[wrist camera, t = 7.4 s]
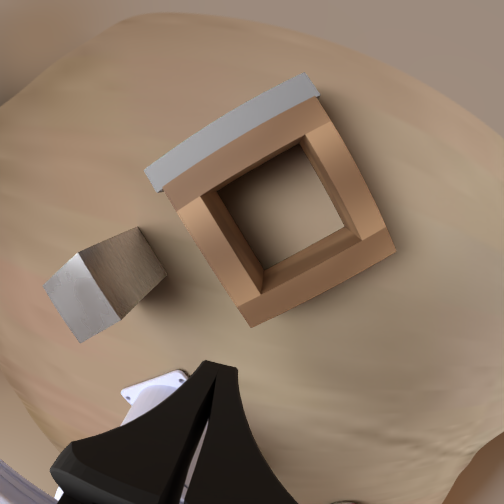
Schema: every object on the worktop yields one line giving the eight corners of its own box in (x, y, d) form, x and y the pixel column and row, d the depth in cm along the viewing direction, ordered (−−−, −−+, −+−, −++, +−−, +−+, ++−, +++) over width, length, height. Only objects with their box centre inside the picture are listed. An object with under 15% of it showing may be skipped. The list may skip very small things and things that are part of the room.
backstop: (312, 109, 16) (320, 94, 13) (177, 189, 18) (156, 192, 15) (299, 90, 16) (304, 72, 12) (166, 170, 18) (143, 170, 14)
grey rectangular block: (167, 274, 20) (121, 320, 13) (129, 297, 21) (80, 343, 14) (137, 226, 19) (77, 252, 12) (102, 253, 20) (42, 285, 13)
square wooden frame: (373, 235, 18) (396, 251, 14) (256, 298, 20) (251, 328, 16) (307, 112, 16) (315, 95, 12) (185, 184, 18) (162, 187, 14)
